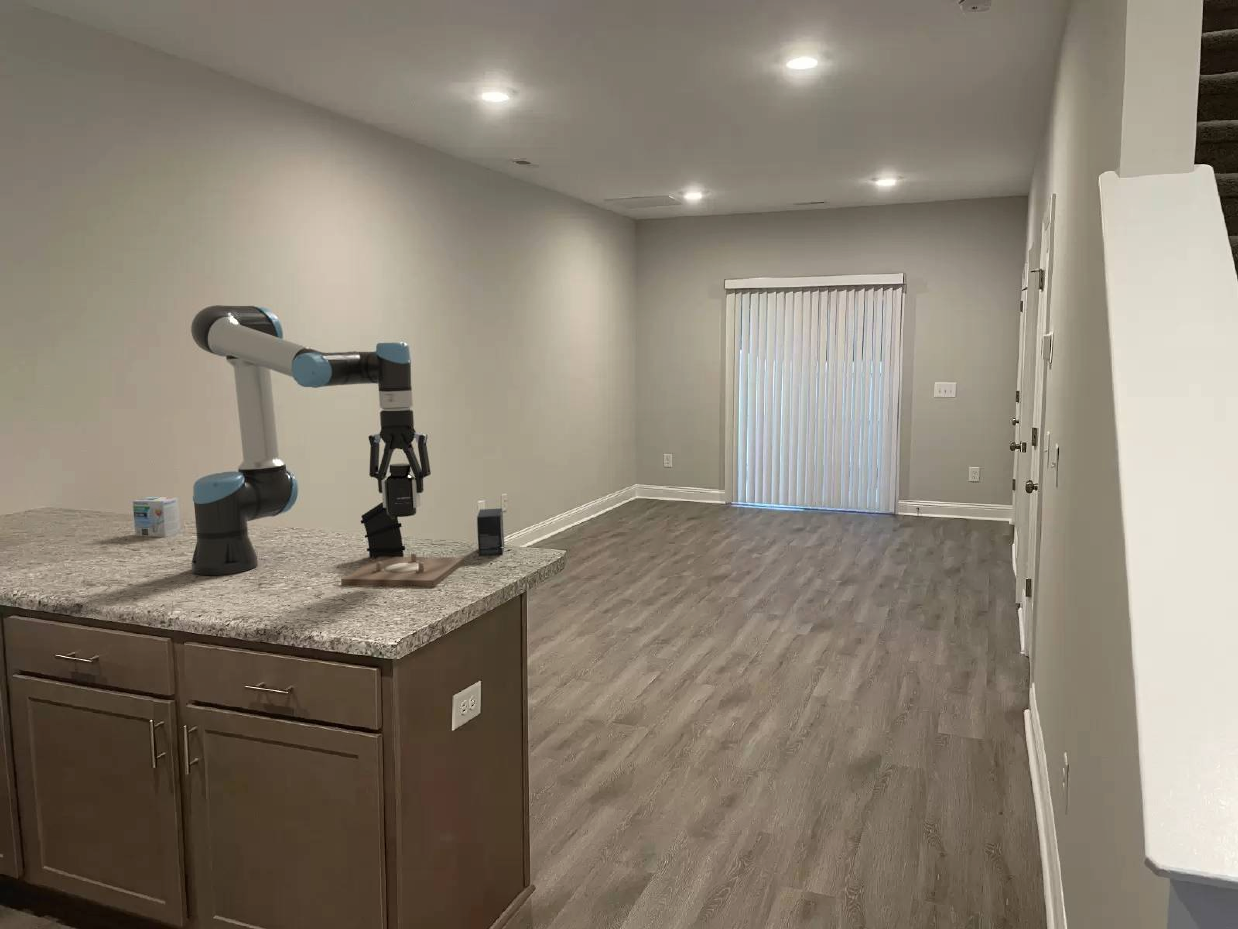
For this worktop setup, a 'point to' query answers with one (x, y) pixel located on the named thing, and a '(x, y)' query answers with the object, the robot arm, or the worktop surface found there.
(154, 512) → the light bulb box
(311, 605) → the worktop surface
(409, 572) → the board
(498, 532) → the small box
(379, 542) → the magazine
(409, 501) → the supplement bottle
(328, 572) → the worktop surface
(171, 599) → the worktop surface
